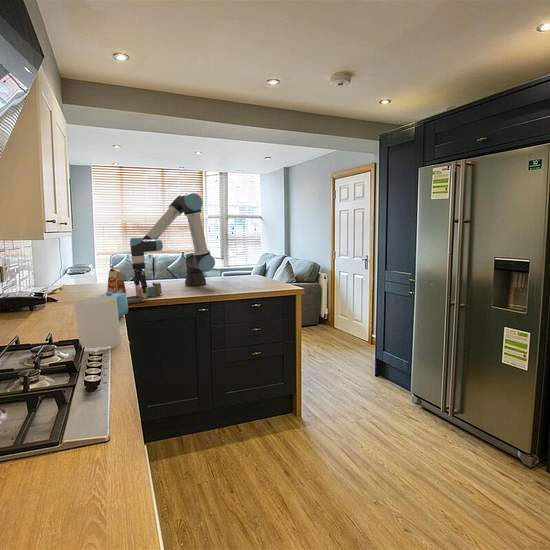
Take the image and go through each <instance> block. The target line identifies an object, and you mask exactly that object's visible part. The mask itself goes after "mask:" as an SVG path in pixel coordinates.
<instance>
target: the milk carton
mask: <svg viewBox="0 0 550 550" xmlns="http://www.w3.org/2000/svg"><path fill="white" fill-rule="evenodd" d="M107 278H108V279H107V290H106V292H110V291H111V292H112V293H118V291H120V290H122V292H121V293H127V289H126V284H125V280H124V276H123V273H122V271H121V270H120V269H119V267H113V266H111V267H110V270H109V271H108V277H107Z"/></svg>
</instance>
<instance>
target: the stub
mask: <svg viewBox="0 0 550 550" xmlns="http://www.w3.org/2000/svg"><path fill="white" fill-rule="evenodd" d="M141 287H142V286H140V287H138V288H135V296H136V295H140V296H142V291H141ZM146 292H147V291H146Z"/></svg>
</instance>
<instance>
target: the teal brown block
mask: <svg viewBox="0 0 550 550" xmlns="http://www.w3.org/2000/svg"><path fill="white" fill-rule="evenodd" d="M146 291H147V296H150V297H152V296H151V295H159V296H161V295H160V294H162V295H163V292H162V291H163V290H162V283H161V282H158V281H153V282H152V284H151V285H147V287H146Z"/></svg>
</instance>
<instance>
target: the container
mask: <svg viewBox="0 0 550 550" xmlns="http://www.w3.org/2000/svg"><path fill="white" fill-rule="evenodd" d="M74 307H75V308H74V309H75V315H76V324H77V325H76V326H77V332H78V333H77V334H78V340H79V344H80V343H81V345H82V346H84V347H87V348H97V347H108V346H110V347H111V348H112V349H115V348H116V347H119V346H120V345H121V344H122V340H121V339H122V338H121V329H120V320H119V319H120V318H118V308H117V298H116V297H112V296H101V297H97V296H93V297H86V298H82V299H78V300H75V302H74Z"/></svg>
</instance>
